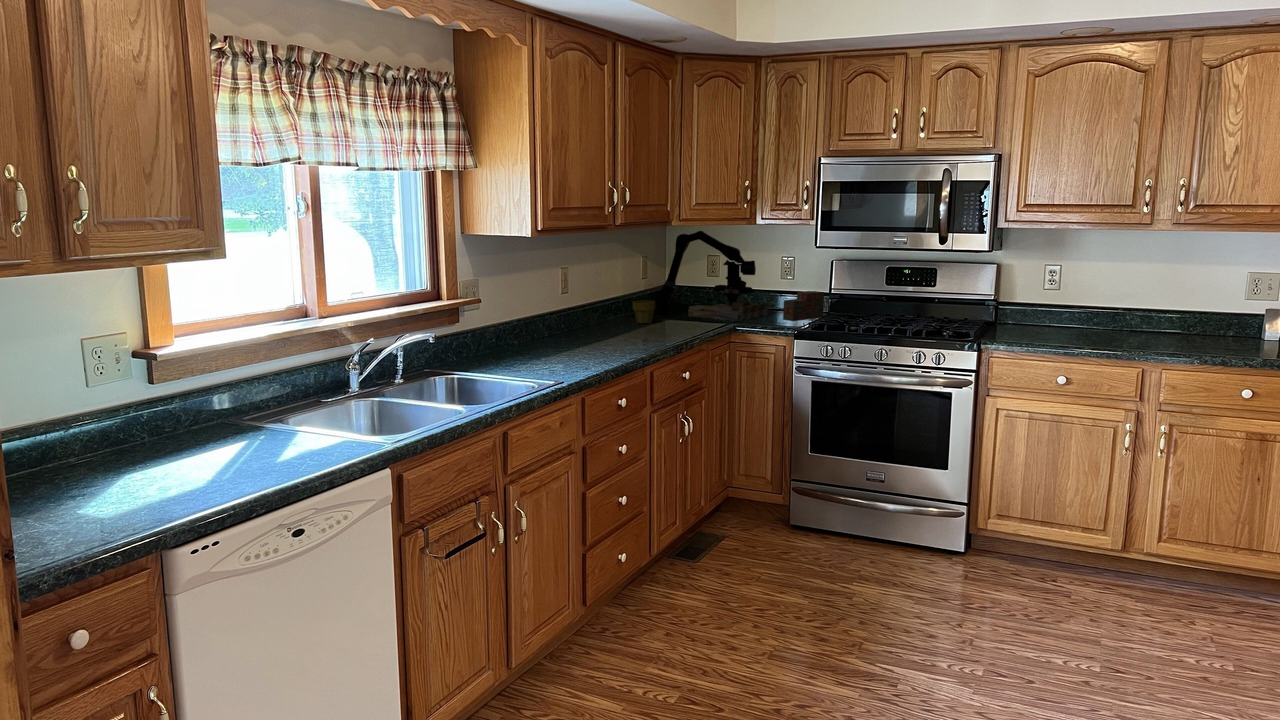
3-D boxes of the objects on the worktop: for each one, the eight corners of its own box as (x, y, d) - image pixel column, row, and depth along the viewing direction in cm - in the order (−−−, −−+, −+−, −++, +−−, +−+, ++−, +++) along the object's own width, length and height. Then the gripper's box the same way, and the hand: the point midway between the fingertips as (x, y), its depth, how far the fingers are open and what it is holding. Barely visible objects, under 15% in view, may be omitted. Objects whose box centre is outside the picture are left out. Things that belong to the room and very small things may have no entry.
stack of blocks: (792, 321, 421) (793, 295, 419) (782, 320, 426) (783, 293, 424) (823, 317, 434) (824, 291, 432) (813, 315, 439) (814, 290, 437)
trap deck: (737, 321, 420) (737, 308, 418) (676, 314, 441) (676, 302, 440) (769, 315, 441) (769, 302, 440) (709, 308, 463) (710, 297, 462)
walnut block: (742, 311, 430) (742, 303, 429) (731, 310, 434) (732, 302, 433) (749, 310, 435) (749, 302, 434) (738, 309, 438) (739, 301, 437)
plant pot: (629, 322, 419) (629, 300, 417) (650, 320, 423) (650, 299, 421) (637, 325, 410) (637, 303, 408) (658, 324, 413) (658, 302, 411)
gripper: (759, 274, 434) (758, 307, 437) (726, 272, 446) (726, 303, 449) (746, 276, 426) (745, 309, 429) (713, 274, 437) (713, 306, 440)
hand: (732, 307), depth 437 cm, fingers closed
